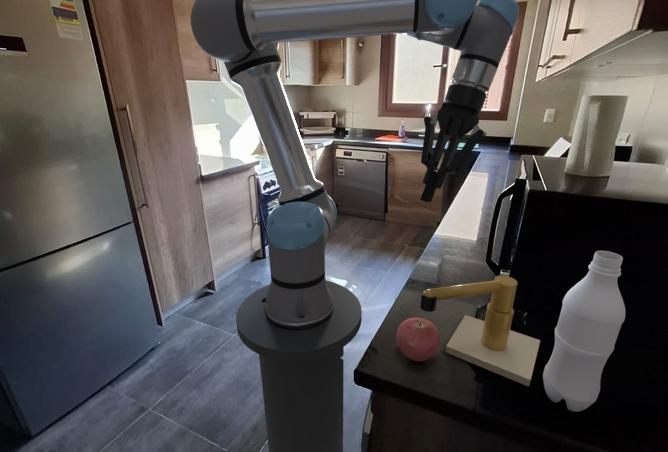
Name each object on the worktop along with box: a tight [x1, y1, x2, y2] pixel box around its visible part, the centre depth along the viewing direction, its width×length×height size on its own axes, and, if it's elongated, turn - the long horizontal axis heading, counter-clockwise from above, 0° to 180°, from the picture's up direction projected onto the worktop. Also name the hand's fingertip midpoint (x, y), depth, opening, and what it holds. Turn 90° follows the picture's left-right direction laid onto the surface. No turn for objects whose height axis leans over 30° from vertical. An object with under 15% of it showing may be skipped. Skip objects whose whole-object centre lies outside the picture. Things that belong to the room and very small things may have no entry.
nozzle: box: [419, 275, 518, 313], centre depth 59 cm, size 18×4×6 cm, turn 103°
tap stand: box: [444, 302, 541, 388], centre depth 63 cm, size 14×12×9 cm
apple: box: [396, 317, 441, 362], centre depth 62 cm, size 7×7×8 cm
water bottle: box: [542, 250, 626, 413], centre depth 50 cm, size 7×7×25 cm
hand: (425, 200), depth 74 cm, fingers closed
